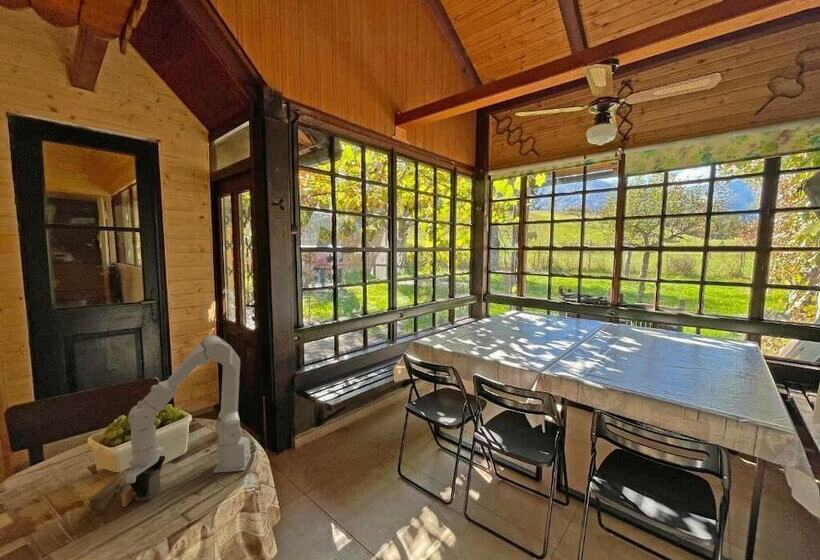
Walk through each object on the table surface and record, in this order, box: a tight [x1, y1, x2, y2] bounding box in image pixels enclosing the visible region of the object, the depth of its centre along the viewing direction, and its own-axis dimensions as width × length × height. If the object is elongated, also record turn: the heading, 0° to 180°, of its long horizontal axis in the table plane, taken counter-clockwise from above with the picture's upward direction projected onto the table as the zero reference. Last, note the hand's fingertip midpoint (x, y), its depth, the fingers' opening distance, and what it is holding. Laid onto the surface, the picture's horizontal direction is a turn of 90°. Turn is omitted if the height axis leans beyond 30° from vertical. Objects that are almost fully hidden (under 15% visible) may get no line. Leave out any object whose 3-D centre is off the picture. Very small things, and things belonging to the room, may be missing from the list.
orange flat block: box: [120, 485, 135, 507], centre depth 102 cm, size 1×8×4 cm, turn 7°
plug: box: [131, 469, 161, 502], centre depth 102 cm, size 6×5×6 cm
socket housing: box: [89, 469, 130, 516], centre depth 101 cm, size 3×12×4 cm, turn 8°
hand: (148, 489), depth 102 cm, fingers closed on plug, 5 cm apart
